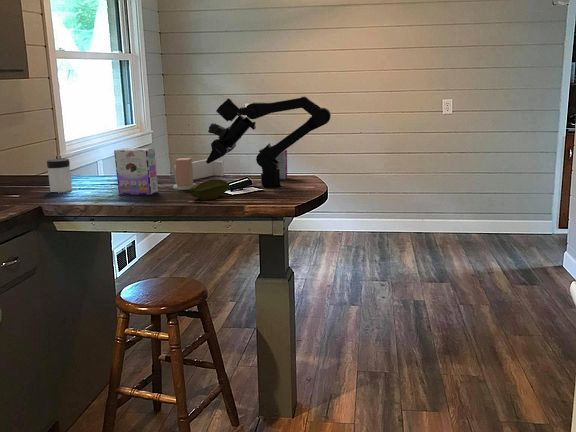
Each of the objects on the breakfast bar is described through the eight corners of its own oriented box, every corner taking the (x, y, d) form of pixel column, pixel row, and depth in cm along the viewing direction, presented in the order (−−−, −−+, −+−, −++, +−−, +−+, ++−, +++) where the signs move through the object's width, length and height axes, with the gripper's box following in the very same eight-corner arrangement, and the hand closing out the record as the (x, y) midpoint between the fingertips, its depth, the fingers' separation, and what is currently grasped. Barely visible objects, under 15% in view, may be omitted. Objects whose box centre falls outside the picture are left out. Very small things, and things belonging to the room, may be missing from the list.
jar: (73, 191, 239) (69, 160, 236) (50, 193, 236) (46, 162, 234) (72, 188, 247) (68, 157, 245) (50, 190, 245) (46, 159, 242)
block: (193, 183, 240) (191, 157, 238) (190, 186, 236) (188, 159, 233) (180, 184, 241) (178, 158, 239) (177, 186, 236) (175, 160, 234)
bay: (224, 175, 264) (223, 159, 262) (186, 184, 246) (184, 166, 245) (213, 174, 267) (212, 158, 266) (175, 182, 250) (173, 165, 248)
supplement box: (285, 180, 247) (284, 151, 244) (270, 180, 248) (269, 151, 245) (288, 177, 252) (287, 149, 250) (273, 177, 253) (272, 149, 251)
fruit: (197, 195, 223) (196, 177, 222) (230, 195, 221) (229, 176, 220) (188, 202, 212) (187, 182, 210) (223, 201, 210) (221, 182, 209)
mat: (197, 185, 243) (197, 182, 243) (197, 189, 235) (197, 186, 234) (173, 186, 242) (173, 183, 242) (173, 190, 234) (172, 187, 233)
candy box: (159, 192, 231) (155, 147, 228) (150, 195, 226) (146, 149, 222) (126, 191, 236) (122, 147, 232) (117, 194, 230) (113, 149, 227)
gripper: (225, 113, 240) (199, 143, 243) (215, 117, 222) (187, 149, 225) (247, 133, 241) (220, 163, 244) (238, 138, 223) (210, 170, 226)
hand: (209, 161), depth 235 cm, fingers open, 9 cm apart
